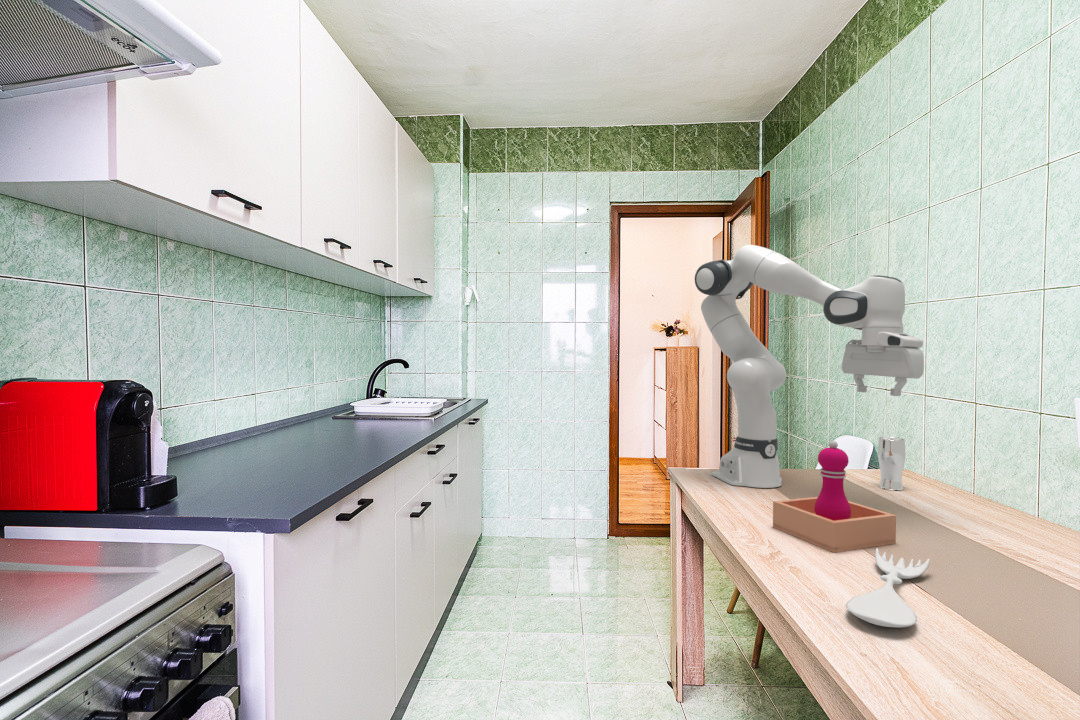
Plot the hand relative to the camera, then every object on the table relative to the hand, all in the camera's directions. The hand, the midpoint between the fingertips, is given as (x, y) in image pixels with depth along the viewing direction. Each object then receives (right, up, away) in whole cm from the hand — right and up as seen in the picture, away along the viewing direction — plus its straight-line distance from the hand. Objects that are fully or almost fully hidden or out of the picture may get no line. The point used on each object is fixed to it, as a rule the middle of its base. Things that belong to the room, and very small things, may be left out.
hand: (878, 394), depth 138 cm
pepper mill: (-21, -30, -17) cm, 40 cm away
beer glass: (+19, -30, +25) cm, 44 cm away
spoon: (-28, -31, -48) cm, 63 cm away
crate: (-21, -30, -17) cm, 41 cm away
